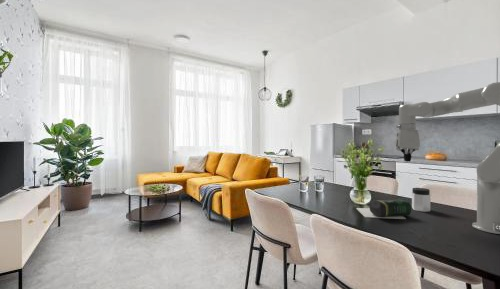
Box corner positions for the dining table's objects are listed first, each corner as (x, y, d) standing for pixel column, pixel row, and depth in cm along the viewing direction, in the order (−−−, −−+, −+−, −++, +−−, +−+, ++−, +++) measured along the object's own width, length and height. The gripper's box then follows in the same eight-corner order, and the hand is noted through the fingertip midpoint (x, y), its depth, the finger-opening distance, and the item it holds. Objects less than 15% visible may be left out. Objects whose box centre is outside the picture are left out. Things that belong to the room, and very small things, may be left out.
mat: (405, 218, 122) (405, 217, 122) (365, 217, 125) (365, 216, 125) (391, 209, 138) (391, 208, 138) (356, 208, 141) (356, 207, 141)
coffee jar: (412, 201, 123) (380, 203, 120) (412, 216, 123) (380, 219, 120) (397, 197, 133) (367, 199, 130) (397, 211, 133) (368, 213, 130)
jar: (432, 209, 136) (432, 189, 136) (428, 212, 131) (428, 191, 131) (414, 206, 143) (414, 187, 143) (409, 209, 138) (409, 188, 138)
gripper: (395, 127, 126) (395, 162, 126) (426, 126, 123) (426, 161, 124) (389, 128, 133) (389, 160, 133) (418, 127, 131) (418, 160, 131)
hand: (407, 161), depth 129 cm, fingers closed
